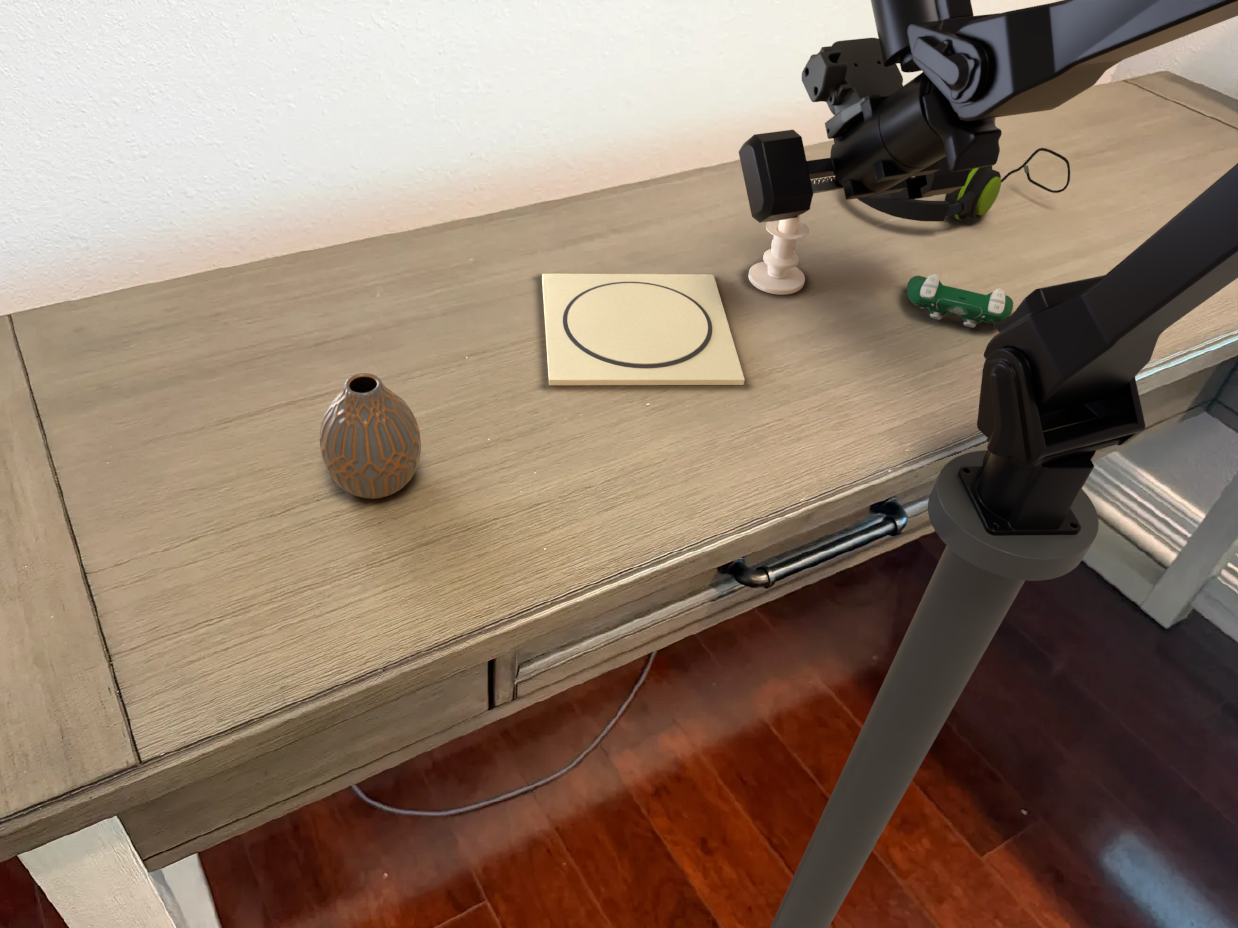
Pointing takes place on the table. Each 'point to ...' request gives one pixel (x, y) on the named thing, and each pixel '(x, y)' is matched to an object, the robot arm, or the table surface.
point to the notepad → (637, 330)
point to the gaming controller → (958, 301)
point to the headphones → (959, 197)
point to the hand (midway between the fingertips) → (803, 199)
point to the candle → (780, 259)
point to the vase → (369, 439)
